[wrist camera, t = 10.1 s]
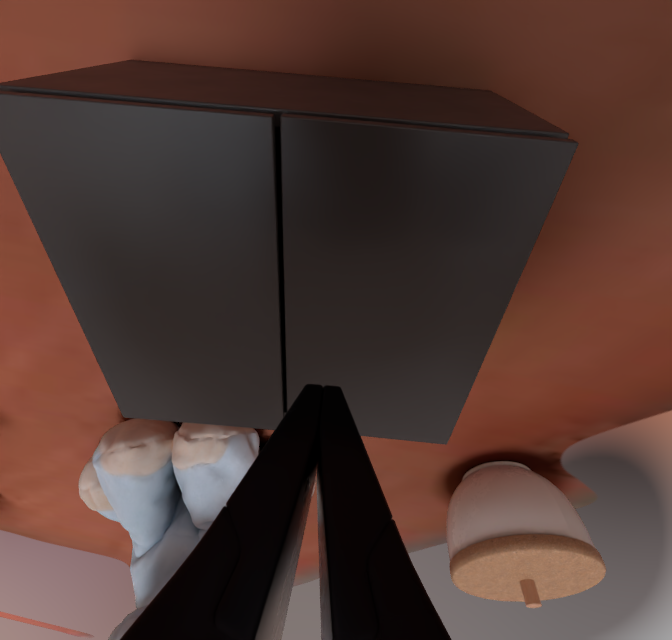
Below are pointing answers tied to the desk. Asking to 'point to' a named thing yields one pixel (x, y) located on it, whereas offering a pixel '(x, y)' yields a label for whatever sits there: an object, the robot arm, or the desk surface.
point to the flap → (404, 260)
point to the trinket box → (518, 537)
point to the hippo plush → (164, 491)
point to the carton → (190, 215)
